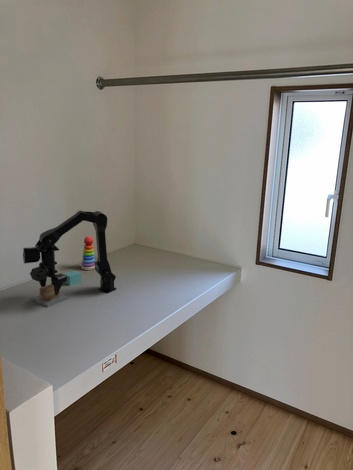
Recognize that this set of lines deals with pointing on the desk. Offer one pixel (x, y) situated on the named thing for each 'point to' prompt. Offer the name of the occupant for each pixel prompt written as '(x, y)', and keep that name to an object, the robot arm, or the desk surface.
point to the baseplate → (50, 302)
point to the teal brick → (73, 277)
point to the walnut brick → (48, 293)
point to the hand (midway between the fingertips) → (49, 292)
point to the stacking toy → (88, 254)
